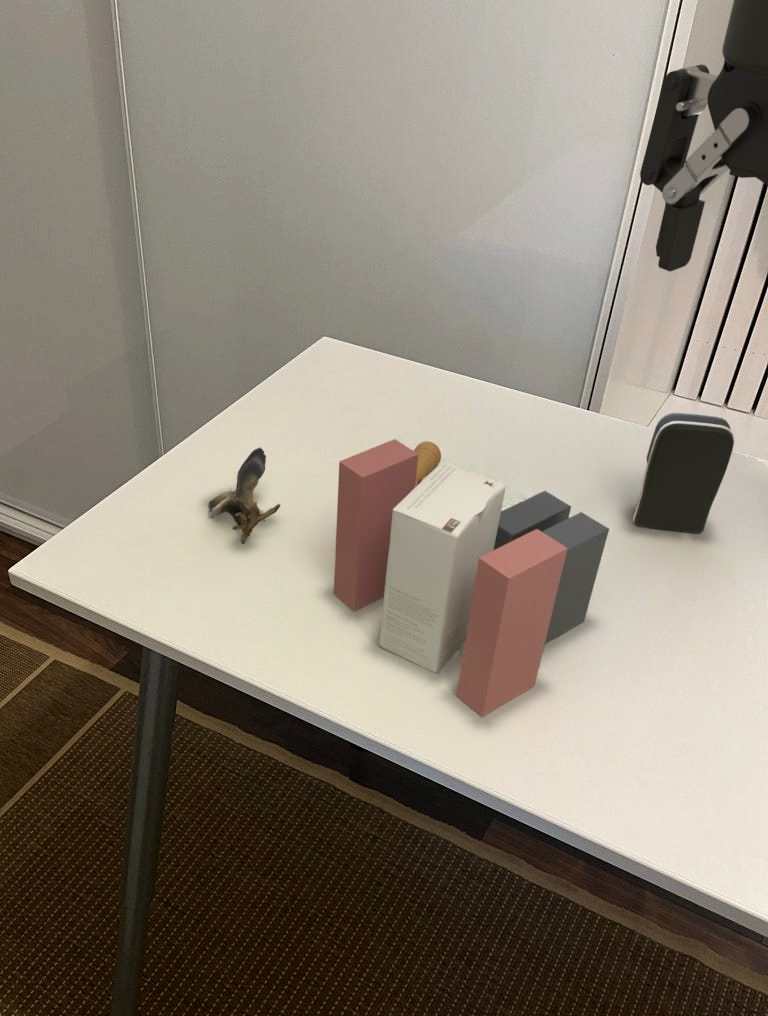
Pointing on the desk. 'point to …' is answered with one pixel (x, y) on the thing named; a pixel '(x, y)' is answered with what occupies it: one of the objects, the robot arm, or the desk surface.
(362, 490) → the rose book
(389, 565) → the cosmetic box
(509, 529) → the grey book
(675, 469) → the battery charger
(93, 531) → the desk surface
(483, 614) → the rose book
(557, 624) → the grey book
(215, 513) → the eagle figurine
